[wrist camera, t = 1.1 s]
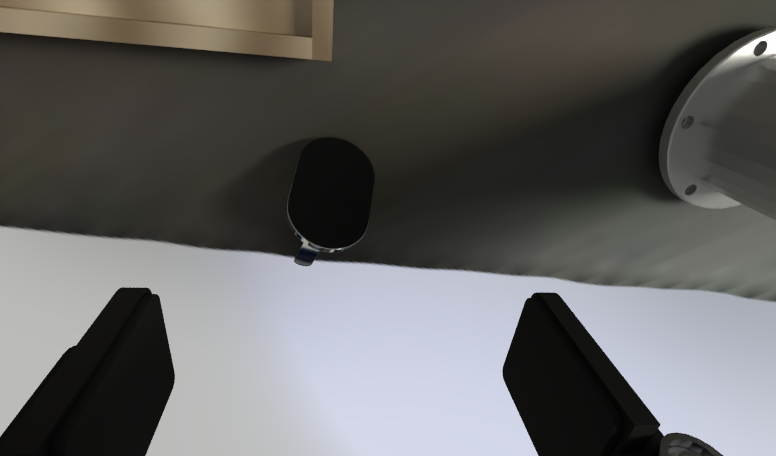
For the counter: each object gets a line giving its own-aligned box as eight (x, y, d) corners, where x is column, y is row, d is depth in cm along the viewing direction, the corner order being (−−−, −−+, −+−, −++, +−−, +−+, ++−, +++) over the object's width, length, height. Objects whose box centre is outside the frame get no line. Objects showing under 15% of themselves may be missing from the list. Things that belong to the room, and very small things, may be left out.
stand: (306, 126, 26) (278, 236, 22) (378, 151, 27) (364, 258, 23) (285, 188, 32) (260, 282, 28) (345, 206, 33) (329, 298, 29)
